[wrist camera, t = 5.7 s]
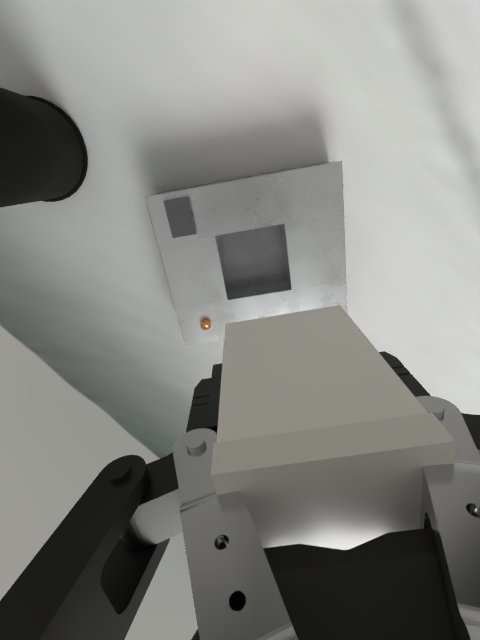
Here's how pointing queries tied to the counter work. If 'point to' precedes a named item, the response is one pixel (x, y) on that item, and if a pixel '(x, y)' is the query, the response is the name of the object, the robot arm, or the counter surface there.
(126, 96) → the counter surface
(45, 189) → the aerosol can
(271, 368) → the white plain square block
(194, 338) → the socket
